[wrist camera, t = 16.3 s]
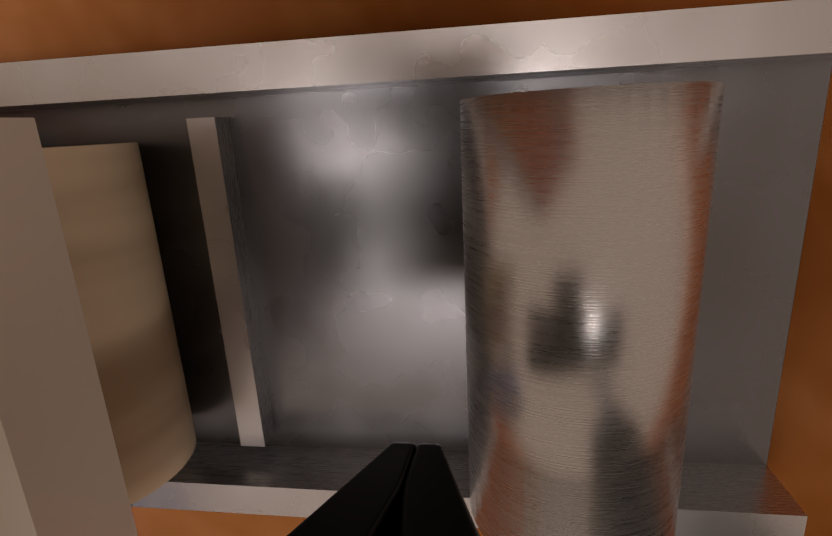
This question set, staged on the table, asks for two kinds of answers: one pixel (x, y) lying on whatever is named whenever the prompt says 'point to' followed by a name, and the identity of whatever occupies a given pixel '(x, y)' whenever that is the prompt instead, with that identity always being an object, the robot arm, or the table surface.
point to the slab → (48, 368)
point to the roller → (125, 307)
